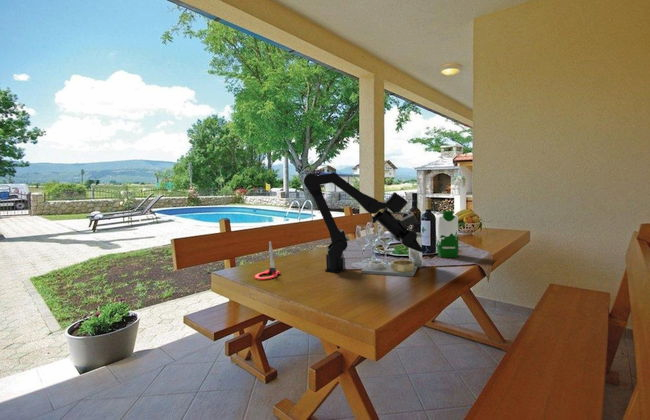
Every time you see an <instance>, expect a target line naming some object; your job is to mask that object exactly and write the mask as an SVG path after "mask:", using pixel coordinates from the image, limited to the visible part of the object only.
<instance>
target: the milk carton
mask: <svg viewBox="0 0 650 420" xmlns="http://www.w3.org/2000/svg"><path fill="white" fill-rule="evenodd" d="M435 217H436V218H435V221H436V222H435V231H436V233H435V237H436V238H435V239H436V241H435V242H436V251H437V255H438V256H439V257H440V258H458V255H459V216H458V215H456V214H454V211H453V210H443V211H442V214H436V216H435Z"/></svg>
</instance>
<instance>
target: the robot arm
mask: <svg viewBox="0 0 650 420" xmlns="http://www.w3.org/2000/svg"><path fill="white" fill-rule="evenodd" d="M303 184H304V186H305V188H306V189H307V191H308V192H309V193H310V195H311V196H312V198H313V199H314V201H315V203H316V206H317V208H318V209H319V212H320V214H321V217H322V219H323V221H324V223H325V225H326V228H327V230H328V232H329V233H328V234H329V237H330V241H331V243H329V244H328V246H327V247H326V252H327V254H326V255H325V258H326V259H325V260H326V261H325V262H326V269H324V272H330V273H331V272H332V273H333V272H335V273H341V272H342V271H344V270H345V269H346V268H347V267H346V258H345V257H344V255H345V254H344V253H343V252H344V251H346V249H347V248H348V245H349V244H348V241H349V238H348V237H347V236H346V234H345V230H344V229H343V228H341V229H339V227H338V226H337V223H336V221H335V220H334V217H333V215H332V212H331V210H330V207H329V206H328V204H327V201H326V199H325V196H324V195H323V191H322V187H321V185H327V184H333V185H334V186H335V187H337V188H338V189H340V190H341V191H343V192H344V193H345V194H346V195H348V196H350V197H351V198H352V199H354V200H355V201H356V202H357V203H358V205H360V207H362V208H363V210H364V211H365V212H367V213H369V214H371V216H370V218H371V223H372V224H375V223H376V222H378V223H379V224H380V225H381V227H383V228H384V229H385V230H386V231H388V233H390V235H391V236H390V237H392V238H393V239H394V240H396V241H397V242H399V243H401V244H402V245H403V246H404V247H406V248H408V249H409V248H411V249H414V250H416V251H419V252H422V253H423V251H424V250H423V247H422V248H421V246H420V245H419V243H418V242H417V233H418V232H416V231H414V230H413V229H409V227H410V226H412V225H413V224H416V223H418V219H417V218H416V216H415V214H414V213H407V212H404V213H402V214H401V218H400V219H399V218H397V217H395V216H394V215H395V214H399V213H400V212H401V211H402V210H404V208H405V207H406V206H407V205H408V201H407V200H406V199H405V198H404V197H403V196H401V195H399V194H398V193H397V192H395V191H394V192H392V194H391V195H390V197H389V198H388V199H386V201H380V200H378V199H376V198H374V197H372V196H369V195H368V194H366V193H363V192H362V191H360V190H359V189H357V187H355V186H353V185H352V184H350V183H349V182H348V181H347V180H345V179H343V177H341V176H340V175H339V174H338V173H336V172H331V173H324V174H320V175H319V174H318V175H317V174H315V173H308V174H307V175H305V177H304V179H303ZM374 214H375V215H374Z"/></svg>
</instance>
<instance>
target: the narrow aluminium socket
mask: <svg viewBox="0 0 650 420" xmlns="http://www.w3.org/2000/svg"><path fill="white" fill-rule="evenodd" d="M367 264H368V268H370V269H376V270H378V269H383V268H384V264H385V262H384V261H382V260H370V261H368V262H367Z"/></svg>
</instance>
